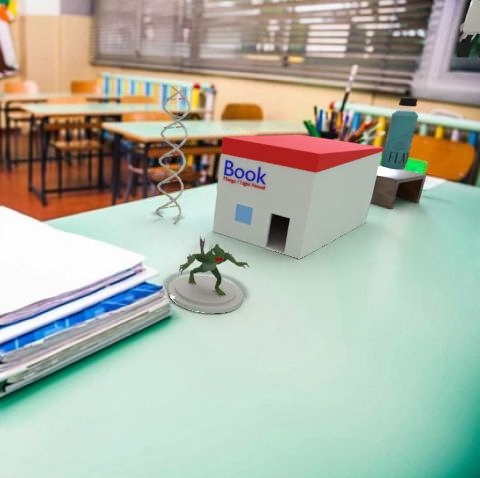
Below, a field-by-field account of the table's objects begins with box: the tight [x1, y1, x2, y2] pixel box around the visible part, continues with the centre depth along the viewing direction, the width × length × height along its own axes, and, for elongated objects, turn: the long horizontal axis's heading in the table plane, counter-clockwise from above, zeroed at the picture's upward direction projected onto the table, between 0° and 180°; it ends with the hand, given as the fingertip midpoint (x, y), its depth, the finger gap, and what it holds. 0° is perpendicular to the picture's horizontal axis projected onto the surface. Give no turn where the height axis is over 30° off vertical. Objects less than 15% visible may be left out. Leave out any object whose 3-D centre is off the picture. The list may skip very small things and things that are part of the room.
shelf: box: [370, 165, 427, 210], centre depth 137 cm, size 12×14×8 cm
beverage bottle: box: [380, 96, 419, 170], centre depth 132 cm, size 6×7×20 cm
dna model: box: [155, 85, 192, 225], centre depth 109 cm, size 7×6×30 cm
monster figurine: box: [167, 235, 250, 314], centre depth 79 cm, size 12×12×10 cm
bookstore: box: [212, 134, 385, 260], centre depth 110 cm, size 21×35×21 cm, turn 135°
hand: (473, 57), depth 131 cm, fingers open, 9 cm apart
